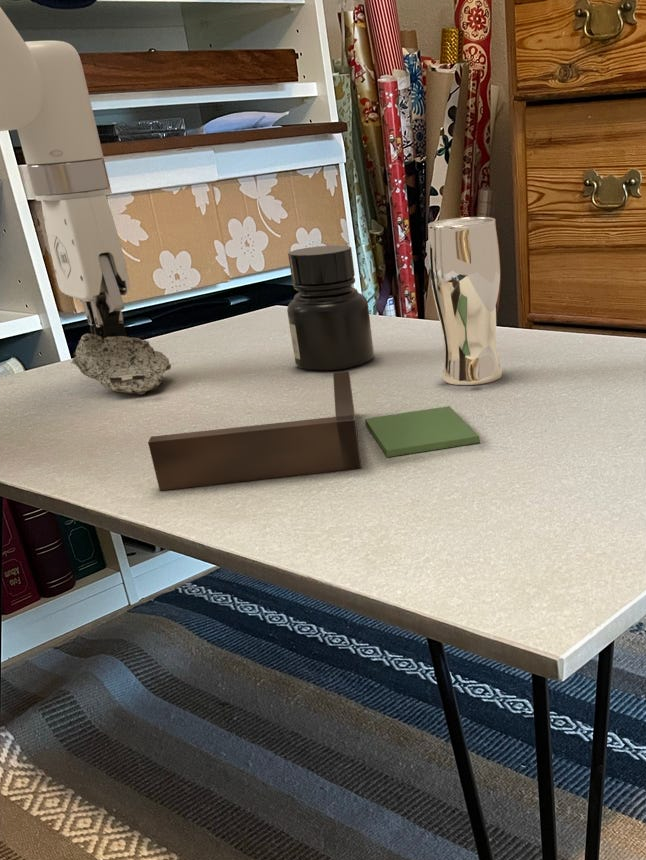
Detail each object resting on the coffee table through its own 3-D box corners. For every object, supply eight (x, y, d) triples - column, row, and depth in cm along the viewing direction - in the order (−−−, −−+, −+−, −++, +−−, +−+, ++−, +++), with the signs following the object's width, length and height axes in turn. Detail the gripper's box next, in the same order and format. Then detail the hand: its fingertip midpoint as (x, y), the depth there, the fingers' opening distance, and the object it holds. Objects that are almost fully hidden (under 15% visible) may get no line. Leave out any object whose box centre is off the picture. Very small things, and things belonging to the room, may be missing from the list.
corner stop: (159, 491, 78) (147, 442, 76) (183, 431, 91) (174, 389, 89) (361, 468, 79) (354, 419, 77) (354, 413, 93) (349, 371, 91)
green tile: (387, 457, 81) (386, 450, 81) (365, 424, 89) (364, 418, 89) (480, 442, 83) (479, 435, 82) (450, 412, 91) (449, 405, 91)
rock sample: (93, 370, 99) (89, 300, 102) (70, 411, 104) (67, 344, 107) (192, 394, 105) (186, 328, 108) (165, 432, 110) (161, 368, 113)
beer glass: (447, 369, 105) (435, 218, 98) (511, 368, 104) (503, 215, 96) (432, 387, 99) (417, 228, 92) (499, 386, 98) (490, 224, 90)
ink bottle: (327, 350, 117) (312, 243, 111) (390, 353, 113) (378, 243, 107) (278, 371, 110) (259, 257, 104) (344, 375, 106) (328, 257, 100)
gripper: (12, 184, 104) (60, 358, 113) (57, 187, 94) (107, 378, 103) (81, 176, 108) (123, 345, 117) (133, 178, 98) (174, 363, 107)
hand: (115, 360), depth 110 cm, fingers closed
